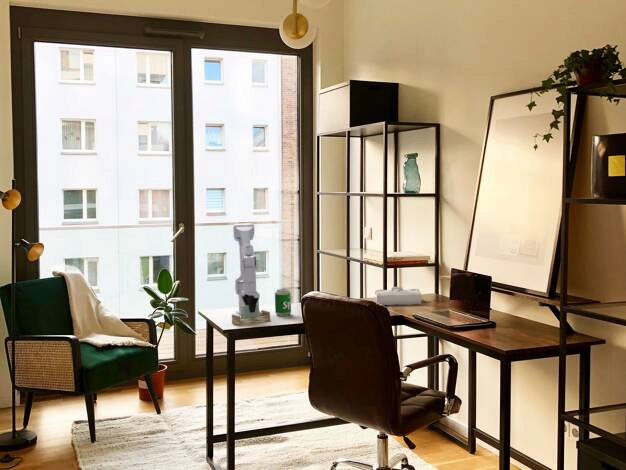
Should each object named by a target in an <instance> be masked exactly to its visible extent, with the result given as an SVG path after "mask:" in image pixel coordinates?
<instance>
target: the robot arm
mask: <svg viewBox="0 0 626 470" xmlns="http://www.w3.org/2000/svg"><path fill="white" fill-rule="evenodd" d="M232 229H233V231H232V232H233V239H234V241H236V242H237V243H238V246H239V247H238V248H239V266H240V267H239V268H240V275H238V276H237V277H236V278H235V282H234V289H235V291H234V292H235V294H236V295H237V296H238V311H235V313H237V314H240V315H241V306H242V305H249V310H250V312H251V313H252V312H255V309H256V304H259V305H260V301H259V300H260V293H259V292H258V291H257V273H256V270H257V269H256V268H257V262H258V261H257V256H256V254H255V249H254V246H253V245H252V244H251V241H252V240H254V236H255V225H254V222H251V223H234V224H233V228H232ZM259 313H261V310H259Z"/></svg>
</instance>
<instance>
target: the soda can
mask: <svg viewBox="0 0 626 470" xmlns="http://www.w3.org/2000/svg"><path fill="white" fill-rule="evenodd" d="M291 295H292V293H291V291H290V290H289V289H285V288H281V289H279V288H278V289H277V290H275V291H274V305H275V306H274V307H275V308H274V309H275V310H274V311H275V312H274V313H275V314H276V315H277V316H278V317H287V316H290V314H291V313H292V297H291Z"/></svg>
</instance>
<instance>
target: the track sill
mask: <svg viewBox="0 0 626 470" xmlns="http://www.w3.org/2000/svg"><path fill="white" fill-rule="evenodd" d="M266 322H271V312H270V311H268V310H265V309H262V310H260V313H259V317H253V318H246V319H241V315H238V314H235V313H233V314H231V324H232V325H235V326H238V327H239V326H244V325H245V326H246V325H251V323H252V324H258V323H266Z"/></svg>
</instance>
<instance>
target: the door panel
mask: <svg viewBox="0 0 626 470" xmlns="http://www.w3.org/2000/svg"><path fill="white" fill-rule="evenodd" d="M259 311H260V303H259V304H256V309H255V312H252V313H251V312H250V310H249V305H242V306H241V314H240V317H241V319H246V318H253V317H259V314H260V312H259Z"/></svg>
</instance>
